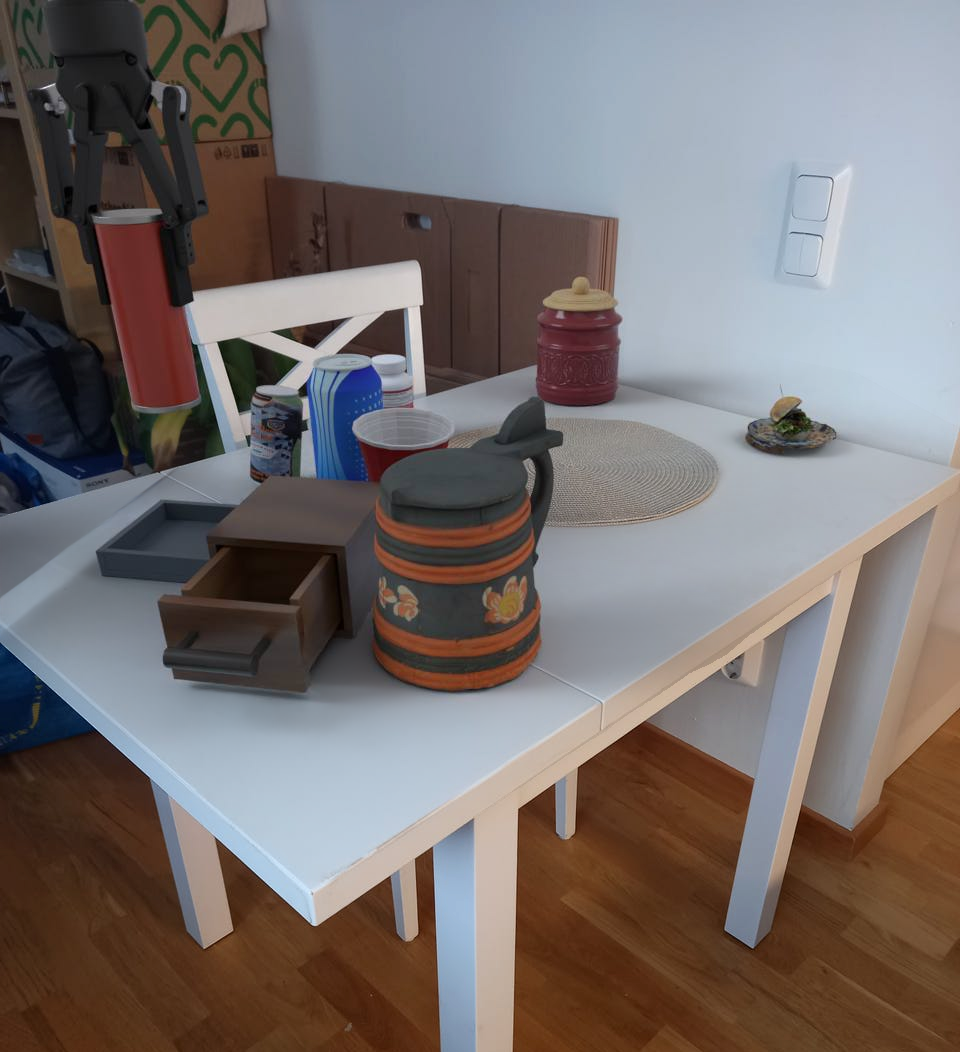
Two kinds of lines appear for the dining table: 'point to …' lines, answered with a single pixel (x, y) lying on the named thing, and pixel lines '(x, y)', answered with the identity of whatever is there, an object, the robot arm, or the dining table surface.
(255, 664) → the drawer
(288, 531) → the cabinet
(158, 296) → the tin
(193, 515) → the tray
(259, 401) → the beverage can
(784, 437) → the burger
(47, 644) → the dining table surface
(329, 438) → the beer can
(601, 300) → the kitchen canister
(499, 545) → the beer stein
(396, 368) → the pill bottle
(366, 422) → the plastic cup
